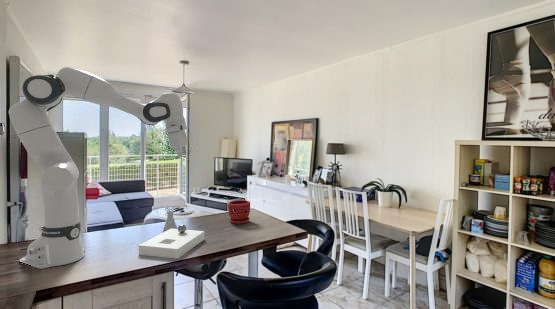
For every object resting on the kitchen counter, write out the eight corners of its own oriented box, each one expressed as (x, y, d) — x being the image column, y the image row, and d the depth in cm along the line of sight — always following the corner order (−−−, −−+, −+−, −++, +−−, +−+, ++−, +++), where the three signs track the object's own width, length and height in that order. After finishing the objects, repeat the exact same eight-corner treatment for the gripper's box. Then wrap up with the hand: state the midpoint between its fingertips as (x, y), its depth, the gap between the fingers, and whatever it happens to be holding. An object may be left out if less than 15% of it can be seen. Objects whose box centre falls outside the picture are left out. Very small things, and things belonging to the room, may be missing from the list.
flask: (172, 232, 153) (172, 213, 152) (160, 231, 154) (160, 212, 154) (180, 228, 160) (180, 210, 159) (168, 227, 161) (167, 209, 161)
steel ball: (175, 233, 138) (175, 225, 138) (180, 231, 142) (180, 223, 142) (183, 234, 138) (183, 226, 137) (188, 232, 142) (188, 223, 141)
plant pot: (250, 218, 181) (250, 199, 181) (249, 225, 168) (249, 204, 167) (229, 218, 180) (229, 199, 180) (226, 225, 167) (226, 204, 167)
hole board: (138, 254, 124) (138, 245, 123) (170, 236, 147) (170, 228, 147) (177, 258, 120) (177, 249, 120) (204, 239, 143) (204, 231, 143)
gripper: (174, 127, 149) (180, 154, 151) (164, 129, 129) (170, 160, 131) (187, 125, 149) (193, 152, 151) (178, 127, 129) (185, 157, 131)
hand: (182, 156), depth 141 cm, fingers open, 8 cm apart
